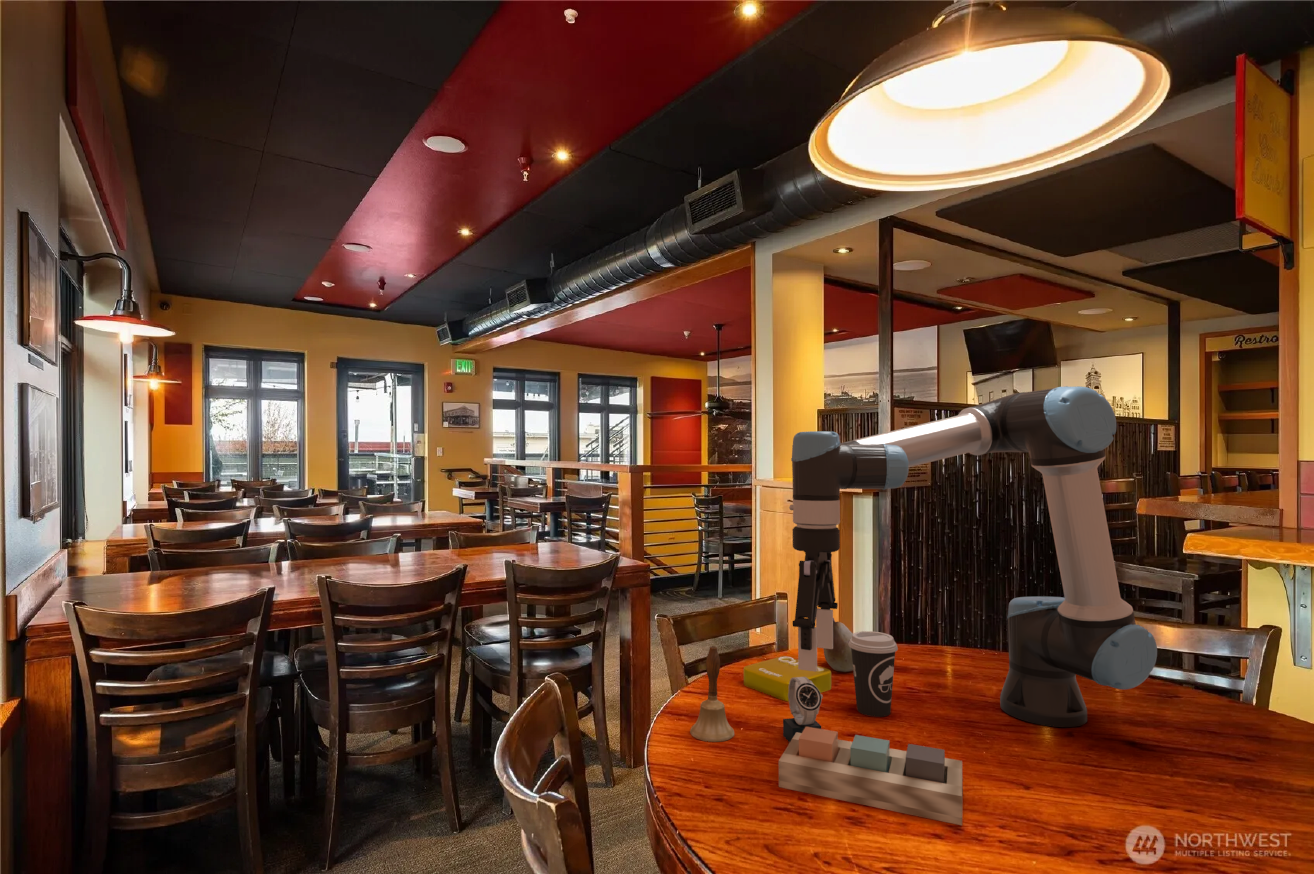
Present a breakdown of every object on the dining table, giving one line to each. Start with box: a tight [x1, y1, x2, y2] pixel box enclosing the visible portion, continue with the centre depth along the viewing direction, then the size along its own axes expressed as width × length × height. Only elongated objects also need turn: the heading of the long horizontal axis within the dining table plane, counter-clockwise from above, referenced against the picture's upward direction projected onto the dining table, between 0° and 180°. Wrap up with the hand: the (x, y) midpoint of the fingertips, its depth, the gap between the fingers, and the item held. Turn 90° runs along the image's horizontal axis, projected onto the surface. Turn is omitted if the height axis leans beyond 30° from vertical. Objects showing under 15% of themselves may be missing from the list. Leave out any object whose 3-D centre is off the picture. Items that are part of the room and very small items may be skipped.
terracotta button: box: [799, 727, 839, 763], centre depth 107 cm, size 5×5×4 cm
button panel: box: [778, 732, 964, 826], centre depth 104 cm, size 26×12×4 cm, turn 65°
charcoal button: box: [906, 743, 946, 783], centre depth 100 cm, size 5×5×4 cm
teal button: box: [850, 734, 891, 773], centre depth 104 cm, size 5×5×4 cm
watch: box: [782, 677, 824, 744], centre depth 121 cm, size 6×8×11 cm
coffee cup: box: [849, 630, 899, 718], centre depth 135 cm, size 10×10×15 cm
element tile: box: [743, 655, 832, 703], centre depth 150 cm, size 15×15×5 cm
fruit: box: [822, 617, 854, 673], centre depth 162 cm, size 10×9×12 cm
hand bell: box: [689, 645, 735, 743], centre depth 124 cm, size 8×8×16 cm
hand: (816, 658), depth 108 cm, fingers open, 12 cm apart
